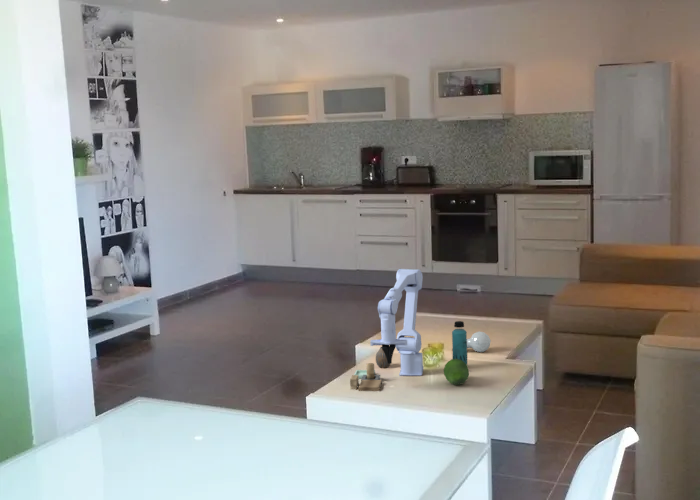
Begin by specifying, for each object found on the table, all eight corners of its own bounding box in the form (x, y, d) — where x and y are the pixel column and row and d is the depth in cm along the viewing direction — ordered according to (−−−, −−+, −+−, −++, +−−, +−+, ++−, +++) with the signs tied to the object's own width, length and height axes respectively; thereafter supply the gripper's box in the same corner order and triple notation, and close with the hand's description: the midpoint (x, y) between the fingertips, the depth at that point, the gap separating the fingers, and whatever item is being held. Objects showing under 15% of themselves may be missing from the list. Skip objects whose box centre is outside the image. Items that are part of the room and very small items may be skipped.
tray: (375, 373, 343) (375, 370, 343) (372, 378, 335) (372, 375, 335) (356, 373, 344) (356, 370, 344) (353, 378, 337) (353, 375, 336)
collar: (380, 378, 336) (380, 374, 336) (378, 383, 329) (378, 379, 329) (363, 378, 337) (363, 374, 337) (361, 383, 330) (361, 379, 330)
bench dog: (358, 384, 328) (358, 375, 328) (356, 389, 322) (356, 379, 322) (352, 384, 329) (352, 375, 328) (350, 389, 323) (350, 379, 322)
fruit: (444, 377, 334) (443, 353, 332) (468, 377, 332) (467, 353, 331) (444, 388, 319) (443, 363, 317) (469, 388, 318) (469, 363, 316)
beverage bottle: (450, 369, 345) (449, 323, 343) (454, 364, 351) (453, 319, 349) (465, 370, 343) (464, 323, 340) (469, 365, 349) (468, 320, 346)
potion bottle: (492, 355, 369) (459, 359, 372) (491, 339, 376) (459, 342, 379) (490, 342, 363) (456, 346, 366) (488, 326, 370) (456, 329, 373)
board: (381, 384, 329) (381, 379, 329) (378, 392, 319) (378, 387, 319) (362, 384, 330) (362, 379, 330) (358, 392, 320) (358, 387, 320)
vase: (392, 364, 356) (391, 345, 355) (391, 368, 349) (390, 349, 348) (376, 364, 357) (375, 345, 356) (375, 369, 350) (374, 349, 349)
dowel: (375, 379, 334) (374, 363, 333) (374, 381, 331) (373, 365, 330) (367, 379, 335) (366, 363, 334) (366, 381, 332) (365, 365, 331)
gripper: (368, 332, 317) (370, 365, 319) (405, 331, 315) (406, 365, 317) (371, 327, 324) (372, 360, 326) (407, 327, 322) (408, 360, 324)
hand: (389, 363), depth 322 cm, fingers closed
